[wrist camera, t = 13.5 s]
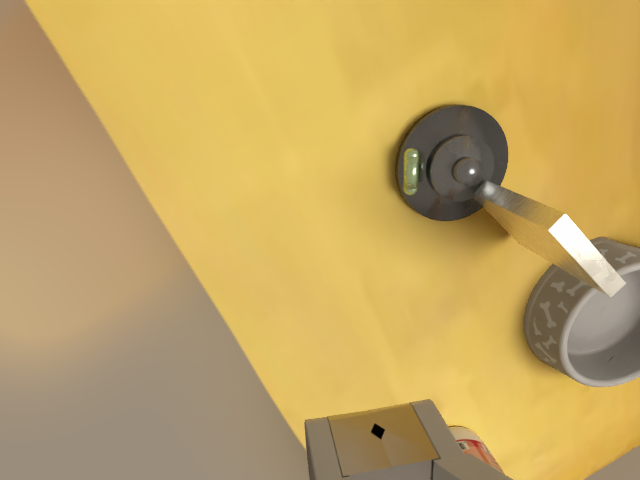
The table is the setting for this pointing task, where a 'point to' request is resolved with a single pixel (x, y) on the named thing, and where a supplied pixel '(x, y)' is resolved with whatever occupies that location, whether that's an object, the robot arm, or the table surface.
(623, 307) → the dog bowl
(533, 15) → the table surface
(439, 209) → the base
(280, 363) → the table surface
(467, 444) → the white plastic bottle
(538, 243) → the upright slab
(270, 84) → the table surface
